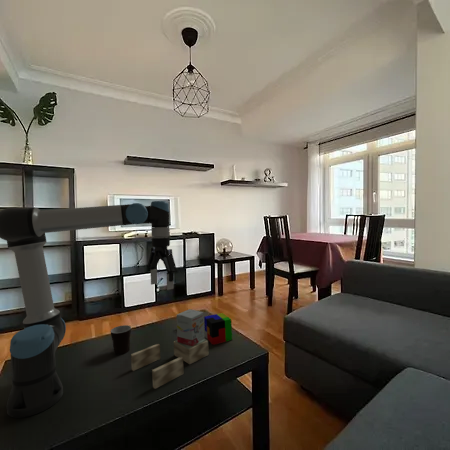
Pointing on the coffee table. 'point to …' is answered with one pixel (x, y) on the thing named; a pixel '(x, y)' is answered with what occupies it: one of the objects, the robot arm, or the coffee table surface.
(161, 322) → the coffee table surface
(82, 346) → the coffee table surface
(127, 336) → the coffee mug
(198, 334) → the ink box
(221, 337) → the puzzle toy
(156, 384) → the wooden blocks
